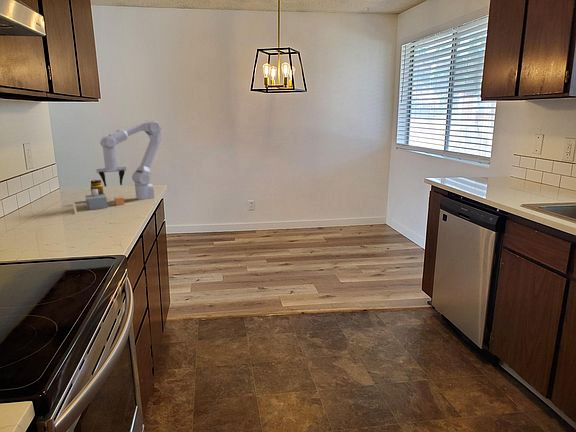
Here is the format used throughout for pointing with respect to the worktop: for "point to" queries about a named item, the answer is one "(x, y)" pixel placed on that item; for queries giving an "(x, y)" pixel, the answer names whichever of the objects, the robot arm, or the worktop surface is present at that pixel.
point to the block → (119, 200)
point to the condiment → (97, 186)
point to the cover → (96, 200)
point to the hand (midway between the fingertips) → (113, 185)
